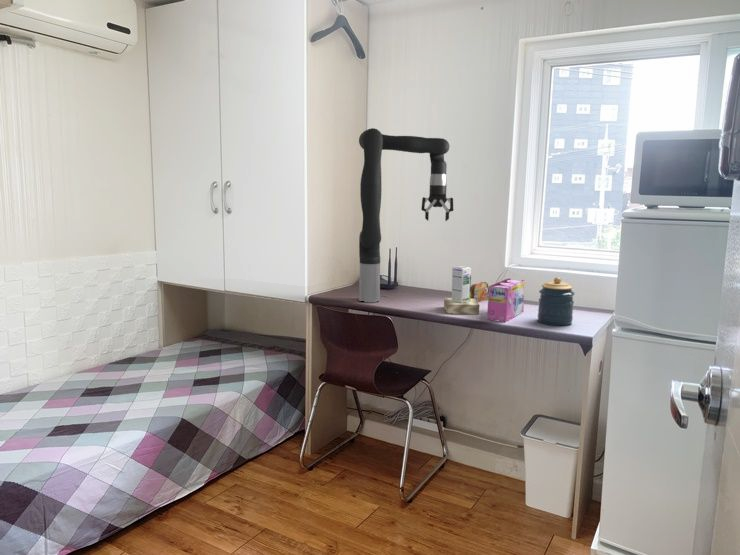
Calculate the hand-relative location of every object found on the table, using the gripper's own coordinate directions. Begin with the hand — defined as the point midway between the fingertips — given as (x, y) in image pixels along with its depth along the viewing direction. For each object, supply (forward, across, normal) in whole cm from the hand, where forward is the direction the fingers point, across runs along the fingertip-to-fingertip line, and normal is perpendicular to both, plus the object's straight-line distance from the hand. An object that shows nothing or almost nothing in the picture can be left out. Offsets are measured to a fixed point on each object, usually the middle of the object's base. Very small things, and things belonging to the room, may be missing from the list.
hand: (436, 220), depth 252 cm
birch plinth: (+36, +9, -25) cm, 45 cm away
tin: (+36, +20, -3) cm, 42 cm away
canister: (+36, +43, -42) cm, 70 cm away
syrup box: (+32, +9, -25) cm, 42 cm away
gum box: (+36, +26, -32) cm, 55 cm away
